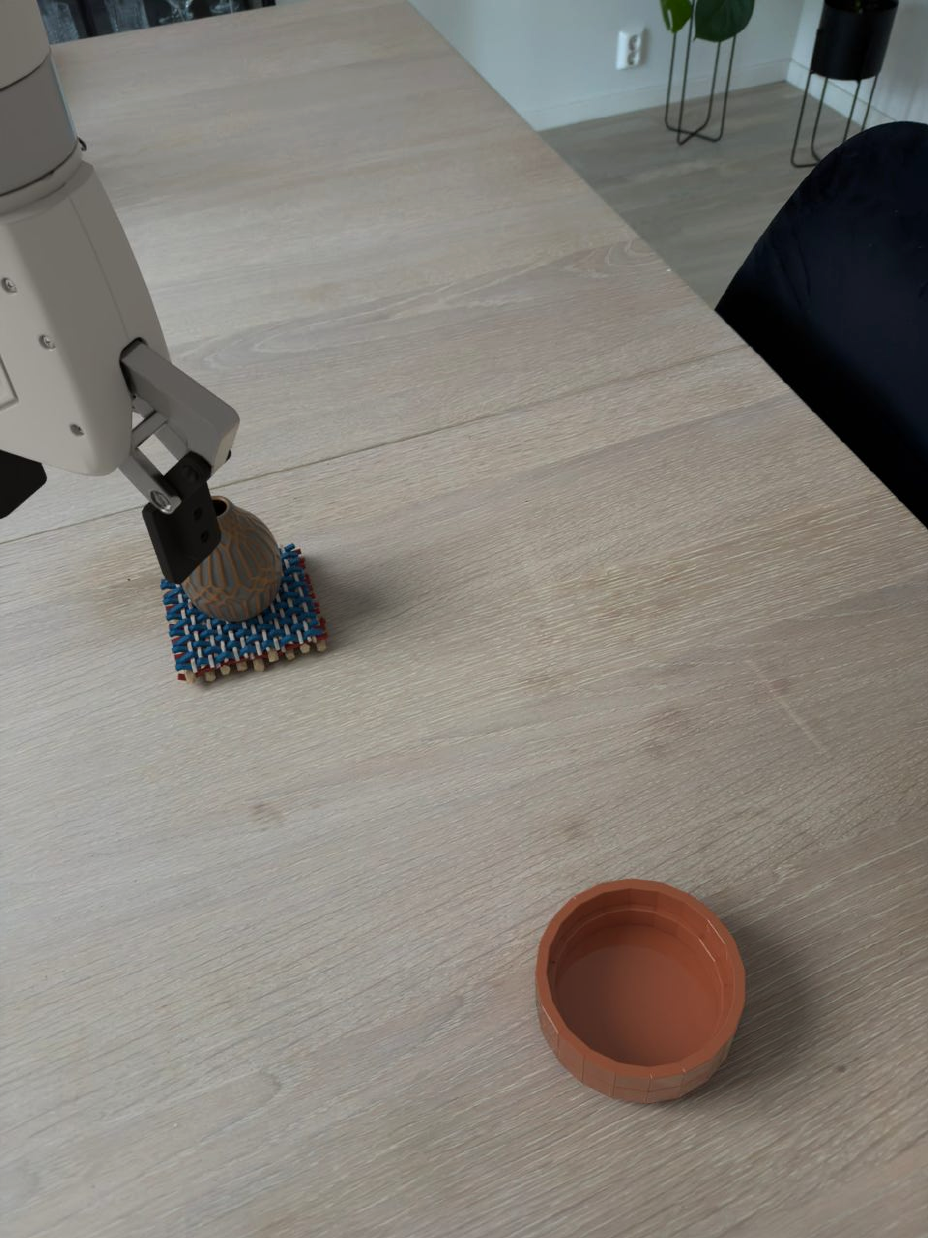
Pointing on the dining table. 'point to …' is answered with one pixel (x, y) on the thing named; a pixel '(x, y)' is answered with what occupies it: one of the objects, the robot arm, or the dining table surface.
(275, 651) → the woven mat
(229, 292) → the dining table surface
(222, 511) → the vase
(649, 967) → the bowl
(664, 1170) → the dining table surface
